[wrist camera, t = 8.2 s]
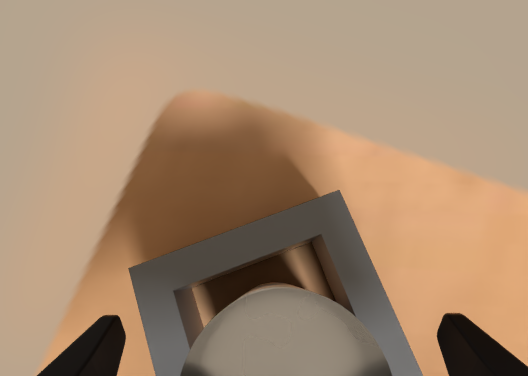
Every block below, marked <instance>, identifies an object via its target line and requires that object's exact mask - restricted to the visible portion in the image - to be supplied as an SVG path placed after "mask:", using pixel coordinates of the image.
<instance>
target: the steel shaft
mask: <svg viewBox="0 0 528 376" xmlns="http://www.w3.org/2000/svg"><path fill="white" fill-rule="evenodd" d="M180 376H392V373H391V370H390V367H389V365H388V362H387V360H386V358H385V356H384V354H383V352H382V350H381V348H380V346H379V345H378V343H377V342H376V340H375V339H374V337H373V335H372V334H371V333H370V332H369V331H368V329H367V328H366V327H365V326H364V325H363V323H362V322H361V321H359V320H358V319H357V318H356V317H355V316H354V315H353V314H352V313H351V312H349V311H348V310H347V309H345V308H344V307H343V306H341V305H340V304H338V303H336V302H334V301H333V300H331V299H329V298H327V297H324V296H322V295H319V294H317V293H314V292H311V291H308V290H305V289H302V288H299V287H296V286H293V285H290V284H287V283H282V282H269V283H264V284H261V285H258V286H256V287H254V288H252V289H251V290H249V291H248V292H247V293H245V294H244V295H242V296H241V297H240V298H238V299H237V300H235V301H234V302H233V303H231V304H230V305H228V306H227V307H226V308H224V309H223V310H222V311H221V312H220V313H218V314H217V315H216V316H215V317H214V318H213V319H212V320H211V321H210V322H209V323H208V324H207V325H206V326H205V328H204V329H203V330H202V332H201V333H200V334H199V336H198V337H197V339H196V340H195V342H194V344H193V346H192V347H191V349H190V351H189V353H188V355H187V358H186V360H185V363H184V365H183V368H182V371H181V375H180Z"/></svg>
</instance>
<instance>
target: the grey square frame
mask: <svg viewBox="0 0 528 376" xmlns="http://www.w3.org/2000/svg"><path fill="white" fill-rule="evenodd" d="M310 242H312V244H313V247H314V249H315V251H316V254H317V256H318V259H319V261H320V264H321V266H322V269H323V271H324V274H325V276H326V278H327V281H328V283H329V286H330V288H331V291H332V293H333V296H334V298H335V300H336V303H338V304H340V305H341V306H343V307H344V308H345V309H347V310H348V311H349V312H351V313H352V314H353V315H354V316H355V317H356V318H357V319H358V320H359V321H361V322H362V323H363V325H364V326H365V327H366V328H367V329H368V331H369V332H370V333H371V334H372V335H373V337H374V339H375V340H376V342H377V343H378V345H379V346H380V348H381V350H382V352H383V354H384V356H385V358H386V360H387V362H388V365H389V367H390V370H391V373H392V376H423V374H422V372H421V370H420V368H419V366H418V363H417V361H416V359H415V357H414V355H413V352H412V350H411V348H410V346H409V343H408V341H407V339H406V337H405V335H404V332H403V330H402V328H401V326H400V323H399V321H398V319H397V317H396V315H395V312H394V310H393V308H392V306H391V303H390V301H389V299H388V297H387V295H386V292H385V290H384V288H383V286H382V283H381V281H380V279H379V277H378V275H377V272H376V270H375V268H374V266H373V263H372V261H371V259H370V257H369V255H368V252H367V250H366V248H365V246H364V244H363V241H362V239H361V237H360V235H359V232H358V230H357V228H356V226H355V224H354V221H353V219H352V217H351V215H350V212H349V210H348V208H347V206H346V204H345V201H344V199H343V197H342V195H341V192H340V190H338V191H335V192H332V193H330V194H327V195H324V196H322V197H319V198H316V199H313V200H311V201H308V202H305V203H303V204H300V205H297V206H295V207H292V208H289V209H287V210H284V211H281V212H279V213H276V214H273V215H270V216H268V217H265V218H262V219H260V220H257V221H254V222H252V223H249V224H246V225H244V226H241V227H238V228H236V229H233V230H230V231H227V232H225V233H222V234H219V235H217V236H214V237H211V238H209V239H206V240H203V241H201V242H198V243H195V244H193V245H190V246H187V247H184V248H182V249H179V250H176V251H174V252H171V253H168V254H166V255H163V256H160V257H158V258H155V259H152V260H150V261H147V262H144V263H141V264H139V265H136V266H133V267H131V268H128V269H129V273H130V276H131V280H132V284H133V288H134V292H135V296H136V300H137V304H138V308H139V312H140V316H141V320H142V323H143V327H144V331H145V335H146V339H147V343H148V347H149V351H150V355H151V359H152V363H153V367H154V371H155V374H156V376H180V375H181V371H182V368H183V365H184V363H185V360H186V358H187V355H188V353H189V351H190V349H191V347H192V346H193V344H194V342H195V340H196V339H197V337H198V336H199V334H200V333H201V332H202V330H203V329H204V328H203V324H202V321H201V318H200V314H199V311H198V308H197V304H196V301H195V298H194V294H193V291H192V287H195V286H197V285H200V284H202V283H205V282H208V281H210V280H213V279H215V278H218V277H221V276H223V275H226V274H229V273H231V272H234V271H236V270H239V269H242V268H244V267H247V266H249V265H252V264H255V263H257V262H260V261H262V260H265V259H268V258H270V257H273V256H276V255H278V254H281V253H283V252H286V251H289V250H291V249H294V248H296V247H299V246H302V245H304V244H307V243H310Z"/></svg>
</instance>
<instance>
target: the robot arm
mask: <svg viewBox="0 0 528 376" xmlns="http://www.w3.org/2000/svg"><path fill="white" fill-rule="evenodd" d="M437 339H438V343H439V346H440V349H441V352H442V355H443V358H444V361H445V364H446V368H447V371H448V374H449V376H528V366H526V365H525V364H524V363H523V362H521V361H520V360H519V359H518V358H516V357H515V356H514V355H513V354H511V353H510V352H509V351H508V350H506V349H505V348H504V347H503V346H502V345H500V344H499V343H498V342H497V341H495V340H494V339H493V338H492V337H490V336H489V335H488V334H487V333H485V332H484V331H483V330H482V329H480V328H479V327H478V326H477V325H475V324H474V323H473V322H472V321H471V320H469V319H468V318H467V317H466V316H464V315H463V314H460V313H446V314H445V315H444V316H443V318H442V321H441V323H440V326H439V329H438V332H437ZM125 340H126V335H125V331H124V328H123V325H122V322H121V320H120V317H119V316H118V315H104V316H102V317H100V318H99V319H98V320H97V321H96V322H95V323H94V324H93V325H92V326H91V327H89V328H88V329H87V330H86V331H85V332H84V333H83V334H82V335H81V336H80V337H79V338H77V339H76V340H75V341H74V342H73V343H72V344H71V345H70V346H69V347H68V348H67V349H65V350H64V351H63V352H62V353H61V354H60V355H59V356H58V357H57V358H56V359H55V360H53V361H52V362H51V363H50V364H49V365H48V366H47V367H46V368H45V369H44V370H43V371H41V372H40V373H39V374H38V375H37V376H117V372H118V368H119V364H120V360H121V356H122V353H123V349H124V345H125Z"/></svg>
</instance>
